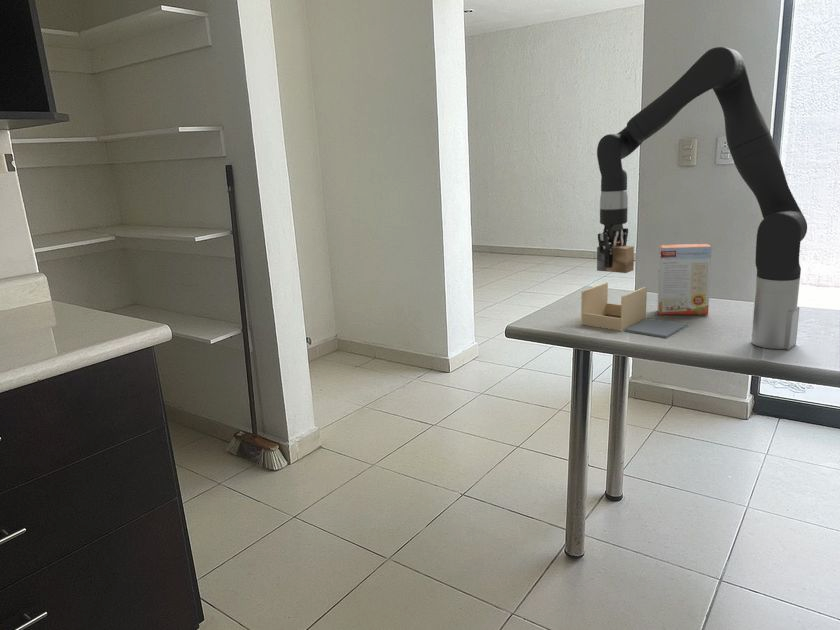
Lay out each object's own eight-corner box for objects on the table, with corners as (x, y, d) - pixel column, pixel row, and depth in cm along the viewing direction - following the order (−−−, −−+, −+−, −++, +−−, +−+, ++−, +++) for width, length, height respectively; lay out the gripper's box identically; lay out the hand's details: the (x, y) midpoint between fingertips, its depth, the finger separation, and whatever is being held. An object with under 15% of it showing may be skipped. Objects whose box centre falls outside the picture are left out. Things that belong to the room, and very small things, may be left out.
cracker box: (705, 310, 186) (709, 243, 181) (708, 315, 181) (712, 246, 175) (656, 310, 190) (659, 244, 185) (658, 315, 185) (661, 247, 179)
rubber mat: (687, 325, 172) (687, 323, 172) (666, 338, 162) (666, 335, 162) (646, 319, 180) (646, 318, 180) (624, 331, 171) (624, 329, 171)
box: (633, 270, 175) (633, 246, 173) (625, 273, 172) (626, 248, 170) (604, 268, 181) (605, 244, 179) (596, 270, 178) (597, 246, 176)
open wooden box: (645, 319, 181) (646, 286, 178) (622, 331, 171) (623, 296, 168) (605, 313, 190) (606, 282, 187) (581, 324, 180) (581, 291, 177)
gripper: (613, 209, 165) (612, 271, 169) (637, 204, 174) (636, 262, 179) (588, 209, 170) (588, 269, 174) (613, 204, 180) (613, 261, 184)
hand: (612, 265), depth 176 cm, fingers closed on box, 4 cm apart
